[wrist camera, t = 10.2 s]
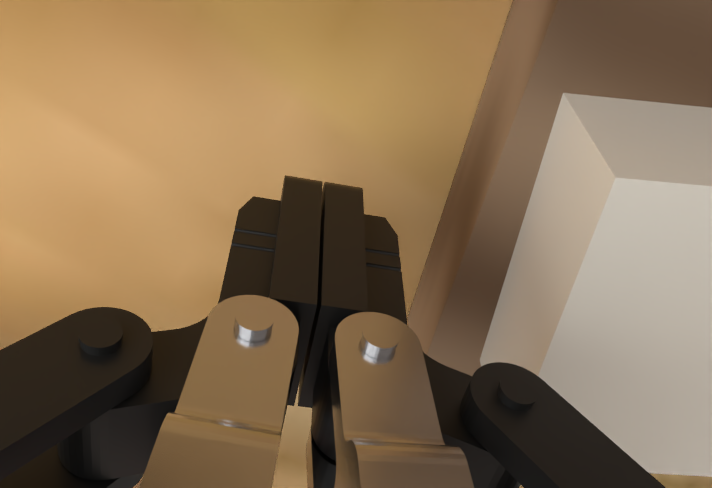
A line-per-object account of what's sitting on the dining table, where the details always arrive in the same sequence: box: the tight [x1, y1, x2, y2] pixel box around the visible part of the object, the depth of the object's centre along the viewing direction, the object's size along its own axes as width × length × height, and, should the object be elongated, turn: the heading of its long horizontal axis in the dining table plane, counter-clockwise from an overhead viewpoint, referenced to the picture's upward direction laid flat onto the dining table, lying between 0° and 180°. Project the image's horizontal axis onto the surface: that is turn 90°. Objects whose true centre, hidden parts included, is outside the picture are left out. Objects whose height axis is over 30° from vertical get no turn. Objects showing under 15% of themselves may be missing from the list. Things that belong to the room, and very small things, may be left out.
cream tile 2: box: [480, 93, 712, 477], centre depth 14 cm, size 7×7×3 cm
